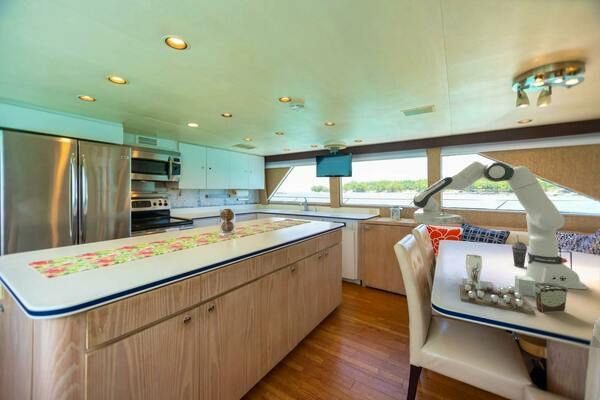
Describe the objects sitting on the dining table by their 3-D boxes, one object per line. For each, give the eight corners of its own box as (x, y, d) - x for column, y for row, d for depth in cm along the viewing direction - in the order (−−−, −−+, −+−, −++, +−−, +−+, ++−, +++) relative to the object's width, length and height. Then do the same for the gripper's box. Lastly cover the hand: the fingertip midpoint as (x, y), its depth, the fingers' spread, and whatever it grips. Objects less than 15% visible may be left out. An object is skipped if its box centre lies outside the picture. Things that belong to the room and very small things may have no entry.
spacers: (517, 296, 112) (517, 287, 112) (527, 312, 98) (527, 302, 97) (464, 287, 123) (464, 279, 123) (465, 301, 108) (465, 292, 108)
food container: (551, 304, 104) (552, 281, 103) (568, 311, 98) (568, 287, 97) (524, 305, 103) (524, 282, 103) (538, 312, 97) (539, 288, 97)
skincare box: (530, 291, 117) (530, 276, 117) (535, 296, 112) (536, 281, 111) (514, 289, 120) (514, 274, 119) (518, 294, 114) (519, 279, 114)
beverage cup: (521, 268, 150) (522, 236, 149) (508, 265, 157) (509, 234, 156) (529, 267, 152) (530, 235, 151) (516, 264, 159) (517, 233, 158)
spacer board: (522, 296, 112) (522, 294, 112) (533, 314, 96) (533, 311, 96) (459, 286, 124) (459, 284, 124) (461, 300, 109) (461, 298, 109)
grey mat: (491, 282, 129) (491, 282, 129) (495, 291, 118) (495, 290, 118) (462, 278, 135) (462, 278, 135) (463, 285, 125) (463, 285, 125)
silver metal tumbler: (484, 287, 122) (484, 258, 121) (468, 286, 124) (469, 257, 123) (478, 282, 129) (478, 254, 128) (463, 281, 130) (463, 253, 130)
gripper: (426, 214, 148) (449, 216, 135) (448, 212, 157) (470, 214, 144) (426, 224, 148) (449, 227, 136) (448, 222, 157) (470, 224, 145)
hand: (460, 220), depth 140 cm, fingers open, 8 cm apart
